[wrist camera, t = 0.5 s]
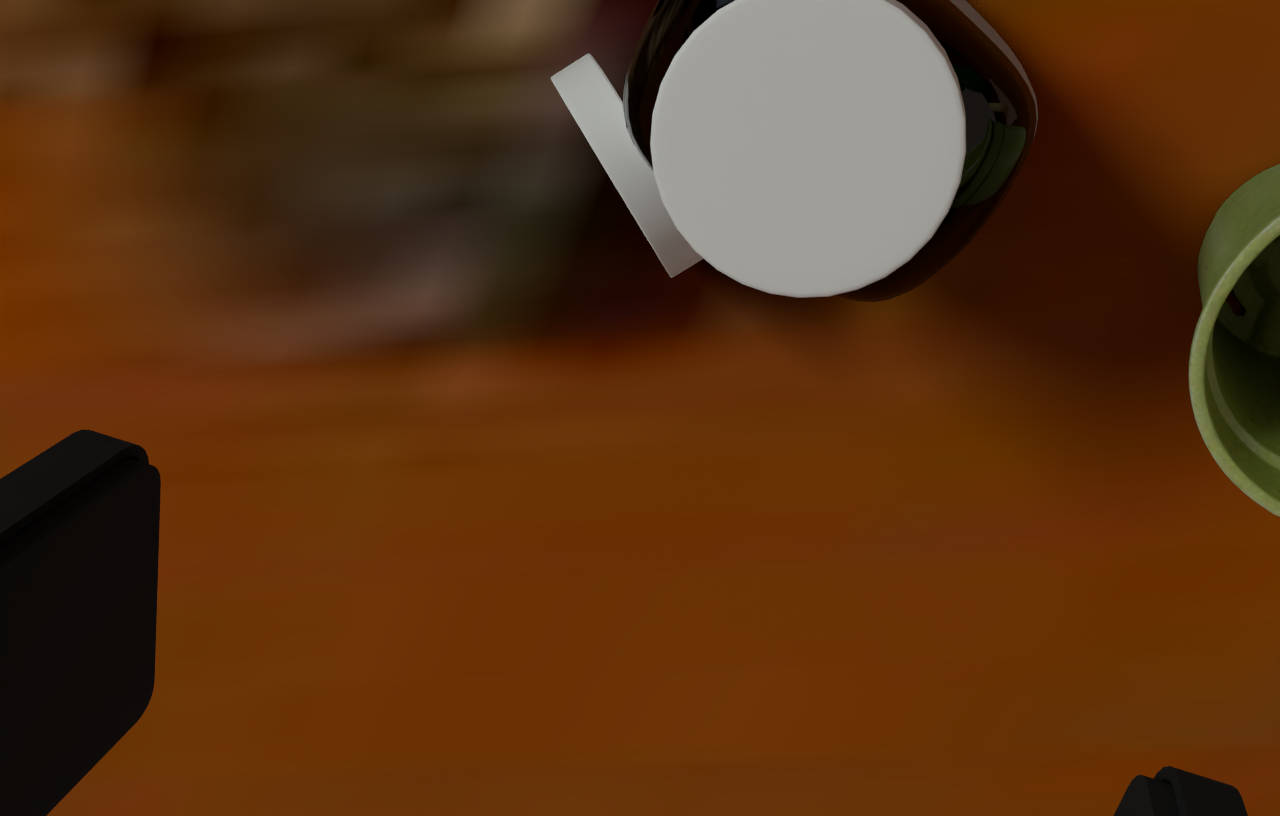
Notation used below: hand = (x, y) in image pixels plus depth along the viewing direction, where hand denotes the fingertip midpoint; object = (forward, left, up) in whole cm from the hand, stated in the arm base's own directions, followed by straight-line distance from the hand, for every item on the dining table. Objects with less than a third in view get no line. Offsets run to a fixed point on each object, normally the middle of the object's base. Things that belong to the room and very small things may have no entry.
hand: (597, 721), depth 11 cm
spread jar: (0, -2, -29) cm, 29 cm away
